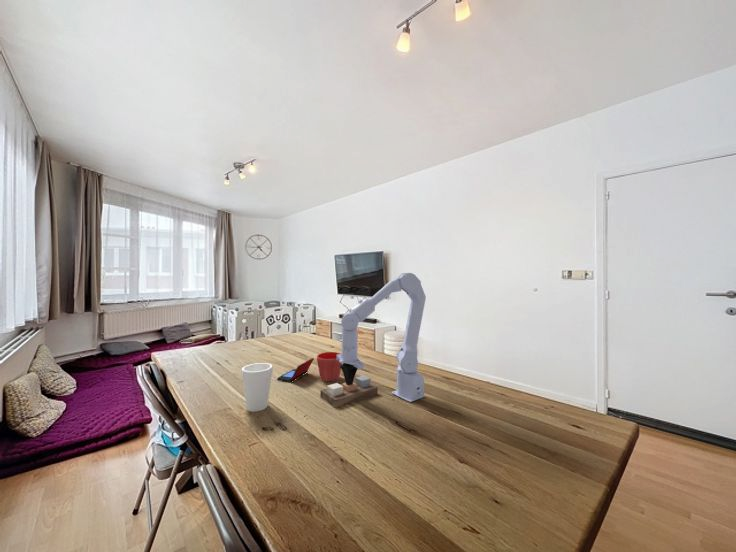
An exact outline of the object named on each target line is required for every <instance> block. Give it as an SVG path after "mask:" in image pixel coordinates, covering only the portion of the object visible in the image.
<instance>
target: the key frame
mask: <svg viewBox="0 0 736 552" xmlns="http://www.w3.org/2000/svg"><path fill="white" fill-rule="evenodd" d="M353 383H355V380H354V381H353ZM340 385H341V386H342V383H340ZM378 390H379V389H378V386H377V385H374V384H373V383H371V382H370V386H367V387H363V388H361V387H359V386H357V390H353V391H350V392H347V391H345V390H343V394H340V395H337V396H331V395H329V394H328V393H327V388H324V389H320V398H321V399H322V400H323V401H325V402H326V401H327V402H326V403H328V404H329V405H331V406H332V407H333V408H335V409H336V408H339V407H341V406H344V405H347V404H350V403H353V402H356V401H360V400H363V399H366V398H369V397H372V396H374V395H378V393H379V391H378Z"/></svg>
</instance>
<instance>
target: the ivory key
mask: <svg viewBox="0 0 736 552" xmlns="http://www.w3.org/2000/svg"><path fill="white" fill-rule="evenodd" d="M326 389H327V393H328V394H329V395H331V396H337V395H340V394H343V386H341V383H340V384H339V383H338V382H336V383H332V384H329V385H327V386H326Z"/></svg>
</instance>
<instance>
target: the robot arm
mask: <svg viewBox="0 0 736 552" xmlns="http://www.w3.org/2000/svg"><path fill="white" fill-rule="evenodd" d="M402 291H404V292H405V293H406V295H407V296H408V298H409V299H410V304H409V310H408V315H407V320H406V326H405V331H404V336H403V341H402V343H401V346H400V348H399V349H398V352H397V353H396V360H397V362H398V366H397V368H396V390H393V391H392V392H391V394H393V395H395V396H397V397H399V398H401V399H403V400H405V401H407V402H409V403H412V402H414V401H417V400H420V399H423V398H425V397H426V394H425V379H424V376H423V375H422V374H421V373H420V372H418V367H419V361H418V341H419V336H420V330H421V325H422V319H423V316H424V308H425V304H426V294H425V291H424V288H423V286H422V281H421V279H419V278H418V277H417V275H415V274H414V273H412V272H402V273H400V274H399V275H398V276H397V277H394V278H393V279H391V280H390V281H389V282H387V283H386V284H385V285H384V286H383V287H382V288H381V289H379V290H378V291H377V292H376V293H375V294H374V295H372V297H370V298H364V299H363V300H362V299H360V300H358V303H357V304H356V305H355V306H354V307H352V308H349V309H348V312H346V313H344V314H343V316H342V317H341V318H342V319H341V321H340V322H341V323H340V324H341V326H342V328H341V332H342V333H341V354H338V355H337V360H339V362H340V363H342V364H341V365H340V367H341V371H342V373H343V374H342V375H343V378H344V381H345V382H344V383H346V384H347V385H351V384H353V381H355V378H356V374H357V371H358V370H359V371H360V370H364V369H365V367H364V366H365V363H364V362H362V361H361V360H360V358H359V357H358V342H359V341H358V329H357V328H358V326H359V323H362V322H363V321H365V320H366V319H367V318H368V317H370V315H372V313H374V312H375V310H376V306H377V305H378V304H379V303H381V302H382V301H383V300H384V299H386V298H388V297H389V296H390V295H391V294H393V293H398V292H402Z"/></svg>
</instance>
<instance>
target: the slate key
mask: <svg viewBox="0 0 736 552" xmlns="http://www.w3.org/2000/svg"><path fill="white" fill-rule="evenodd" d="M354 381H355V384H357V386H359V387H361V388H363V387H367V386H370V383H371V378H370V377H368V376H366V375H360V376H357V377H356V376H355V377H354Z"/></svg>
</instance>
